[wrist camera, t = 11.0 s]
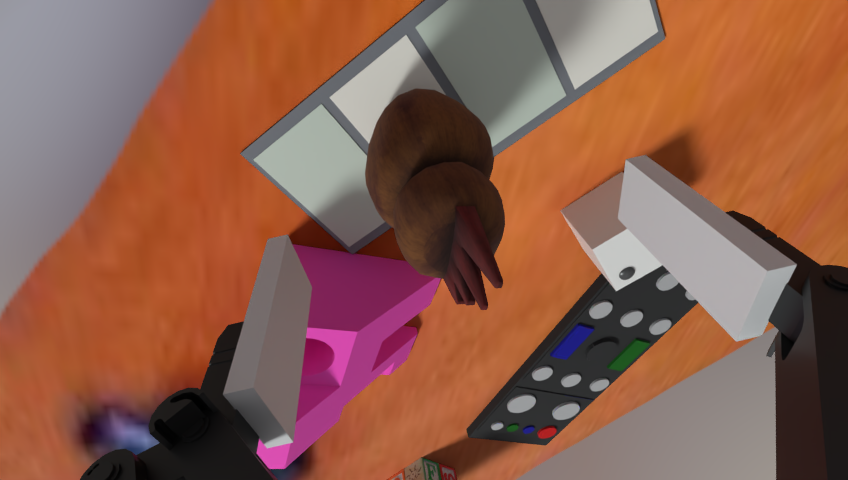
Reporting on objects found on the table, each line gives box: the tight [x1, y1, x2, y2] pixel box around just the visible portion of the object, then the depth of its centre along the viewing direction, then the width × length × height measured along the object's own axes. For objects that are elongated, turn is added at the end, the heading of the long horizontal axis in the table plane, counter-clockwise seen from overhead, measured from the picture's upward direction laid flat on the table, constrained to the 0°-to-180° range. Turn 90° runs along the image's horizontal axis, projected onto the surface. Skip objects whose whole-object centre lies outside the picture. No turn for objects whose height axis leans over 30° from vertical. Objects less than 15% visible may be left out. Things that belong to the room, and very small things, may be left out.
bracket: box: [257, 244, 441, 469], centre depth 29 cm, size 12×10×10 cm
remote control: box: [466, 265, 698, 445], centre depth 41 cm, size 11×30×2 cm, turn 154°
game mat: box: [240, 0, 665, 255], centre depth 24 cm, size 24×10×1 cm, turn 125°
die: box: [560, 172, 662, 291], centre depth 29 cm, size 5×5×5 cm
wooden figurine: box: [365, 88, 505, 310], centre depth 19 cm, size 7×6×15 cm
